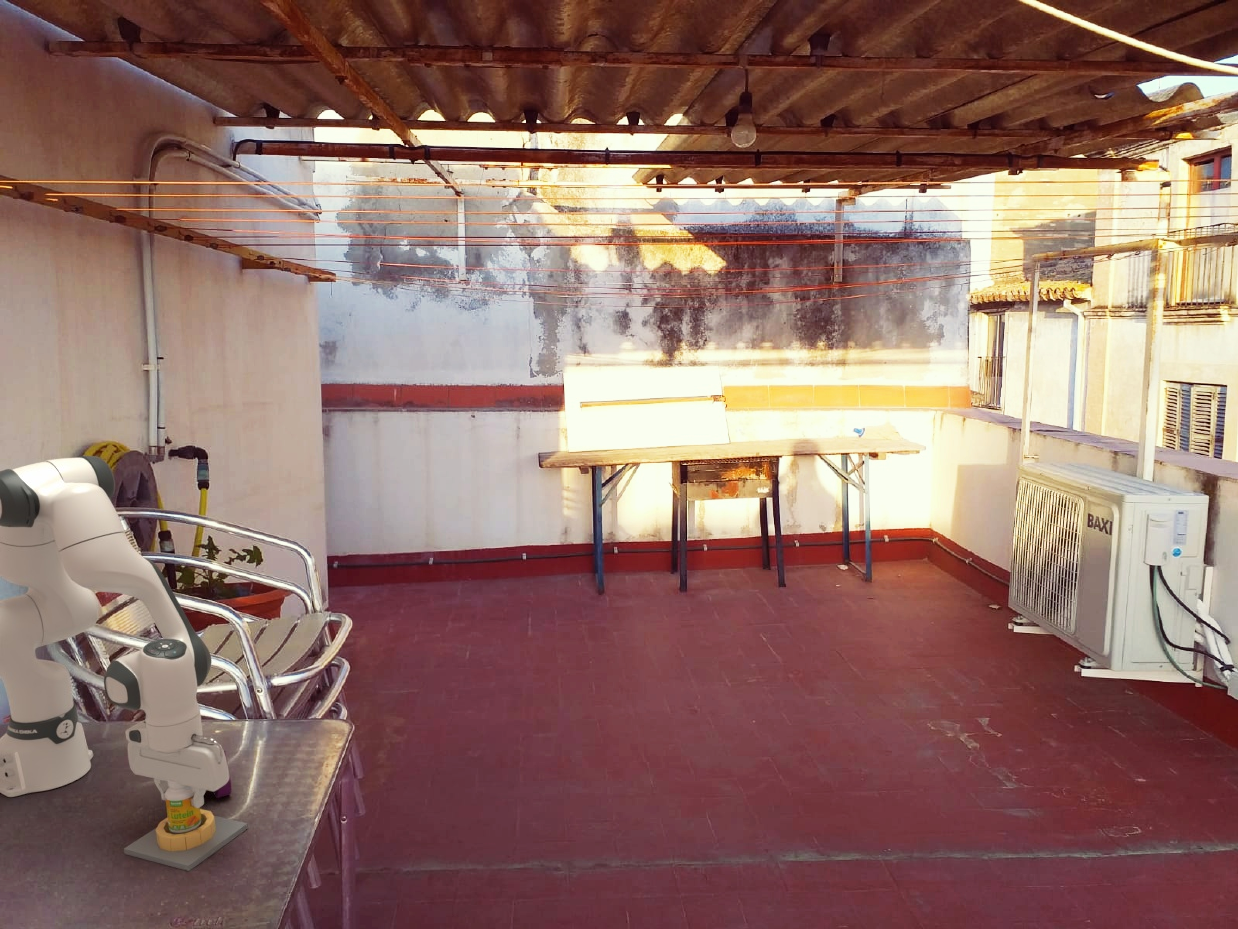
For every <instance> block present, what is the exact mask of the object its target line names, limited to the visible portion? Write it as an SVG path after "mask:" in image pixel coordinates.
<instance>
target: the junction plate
mask: <svg viewBox="0 0 1238 929" xmlns="http://www.w3.org/2000/svg"><path fill="white" fill-rule="evenodd" d="M200 812H201V823H200V825H199V826H198V827H197V828H195V829H193V830H191V831H189V832H185V833H173V832H171V831H170V829H169V825H168V816H167V817H166V818H164V819H163V820H161V821H160V822H158V824H157V827H155V828H154V829H152V830H151V831H149V832H147V833H146V834H144V835H143V836H141V837H140V838H139V839H137V840H135V841H134V842H132V843H130V844H129V845H127V846H126V847H124V848H123V852H124V853H123V854H124V855H127V856H130V857H134V858H139V859H142V860H145V861H150V862H153V863H158V864H161V865H164V866H169V867H171V868H176V869H180V870H183V871H186V872H190V871H191V870H192V869H194V868H196V866H198V865H199V864H201V863H202V862H204V861H206V860H207V859H208V858H209V857H211V856H212V855H213V854H215V853H216V852H218V851H219V850H220V849H222V848H223V847H224V846H226V845H228V843H230V842H231V841H232V840H234V839H235V838H236V837H238V836H240V835H241V834H243V833H244V832H245V831H246V829H247V828H249V826H248V823H247V822H243V821H238V820H235V819H230V818H225V817H222V816H218V815H214V814H213V812H212V811H211V810H206V809H203V808H200ZM247 830H248V829H247Z"/></svg>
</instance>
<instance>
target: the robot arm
mask: <svg viewBox="0 0 1238 929" xmlns="http://www.w3.org/2000/svg"><path fill="white" fill-rule="evenodd" d="M115 491H116V479H115V475H114V473H113V470H112V468H111V466H110V465H109V464H108V463H107V462H106V461H105V460H104V459H103V458H102V457H99V456H96V455H77V456H75V457H63V458H53V459H47V460H42V461H40V462H36V463H35V462H34V463H30V464H27V465H22V466H19V467H16V468H13V469H10V468H7V469H4V470H0V577H1V578H2V579H3V580H4V581H7V582H8V583H11V584H13V585H17V586H21V587H24V588H25V587H26V588H28V590H27V592H26V593H24V594H21V595H16V596H12V597H8V598H4V599H1V600H0V679H1V681H2V683H3V685H4V688H5V693H6V696H7V701H8V705H9V710H10V711H9V712H10V714H9V715H7V716H5V717H3V718H2V719H3V720H4V721H3V723H4V724H6V723H7V728H6V732H5V733H4V734H3V736H1V737H0V793H1V794H2V795H4V796H6V797H8V798H14V797H18V796H22V795H25V794H26V795H27V794H30V793H38V792H44V791H49V790H53V789H56V788H59V787H63V786H65V785H68V784H70V783H73V782H75V781H76V780H79V779H80V778H82V777H83V776H85V775H86V774H88V772H89V771H90V770H91V767H92V763H91V760H92V758H93V757H94V753H93V750H92V749H89V747H88V745H87V741H86V740H87V739H86V736H85V732H84V727H83V725H82V722H79V715H78V714H79V711H78V708H77V704H76V703H75V702H74V697H73V690H72V681H71V674H70V672H69V671H68V669H67V668H66V667H65V666H64V665H63V664H62V663H60V662H57V661H54V660H48V659H41V658H37V654H36V649H37V648H39V647H43V646H46V645H50V644H53V643H58V642H60V641H63V640H67V639H70V638H73V637H75V636H77V635H79V634H80V635H81V633H84V632H85V631H87V630H90V629H92V628H93V627H94V626H95V625H96V623H97V621H98V619H99V616H100V612H101V611H100V610H101V609H100V601H99V600H98V597H97V595H96V594H95V593H94V591H95V592H101V593H117V594H124V595H128V596H131V597H134V598H136V599H138V600H139V601H140V602H141V603H143V605H144V606H145V607H146V610H147V611H148V613H149V615H150V617H151V619H152V620H153V623H154V624H155V626H156V627H157V629H158V631H159V633H160V635H161V637H162V638H161V639H156V640H152V641H150V642H148V643H147V644H145V645H143V647H142V648H141V649H140V650H137V651H133V652H131V653H128V654H125V655H123V656H120V657H118V658H117V659H115V660H112V661H111V662H110V663H109V665H108V666H107V668H106V669H105V673H104V676H103V677H104V678H103V686H104V692H105V695H106V698H107V700H108V701H109V702H110V703H111V704H113V705H114V706H116V707H118V708H120V709H123V710H127V711H139V710H142V711H144V713H145V719H143V720H141V721H140V722H138V723H136V724H134V725H132V726H131V727H129V728H126V730H125V731H124V732H125V737H126V738H125V739H126V740H127V741H128V742H127V759H128V763H129V768H130V770H131V772H133V774H134V775H137V776H142V777H147V778H152V779H153V782H154V784H155V786H156V787H157V789H158V791H159V792H160V796H161V800H162V801H165V802H166V799H165V792H166V790H167V789H168V788H169V786H168V780H171V781H175V782H177V783H178V784H182V785H186V786H191V787H192V788H193V791H194V792H195V795H194V797H191V798H190V803H191V804H190V806H191V807H195V808H199V807H200V808H201V807H202V806H203V805H204V804H205V798H204V795H205V793H206V792H207V791H209V792H213V791H216V790H218V789H219V788H221V787H222V786H224V785H225V784H226V783H227V782H228V780H229V773H230V769H229V770H228V768H229V765H227V763H228V760H227V761H226V758H227V756H226V757H225V753H226V752H225V753H224V751H225V750H224V749H223V747H222V745H221V744H220V743H219V742H218V741H216V738H214V737H210V736H209V737H207V736H204V735H203V726H202V715H201V708H200V705H199V703H198V700H197V692H198V688H199V687H200V686H201V685H203V683H204V682H205V681H206V678H207V677H208V676H209V673H210V671H211V667H212V666H211V665H212V656H211V652H210V650H209V648H208V647H207V645H206V644H205V642H204V641H203V640H202V638H201V637H200V635H199V634H197V632H196V630H195V629H194V628H193V626H192V624H191V622H190V620H189V619H188V617H187V615H186V613H185V611H184V609H183V607H182V605H181V604H180V603H179V601H178V599H177V598H176V596H175V594H174V591H173V590H172V588H171V586H170V583H168V581H167V579H166V578H165V576H164V574H163V573H162V571H161V570H160V568H159V567H158V566H157V564H156V562H154V561H153V560H151V559H149V558H146V557H143V556H142V555H141V554H140V553H139V552H138V551H137V550H136V549H135V547H133V546H132V544H131V542H130V540H129V539H128V536H127V535H126V531H125V529H124V526H123V524H122V521H121V519H120V516H119V514H118V512H117V510H116V509H115V506H114V505H113V503H112V498H113V496H114V494H115Z"/></svg>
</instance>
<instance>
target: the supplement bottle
mask: <svg viewBox="0 0 1238 929" xmlns="http://www.w3.org/2000/svg"><path fill="white" fill-rule="evenodd" d="M168 786H169V788H168V789H167V790H166V792H165V799H166V801H165V807H166V813H167V814H166V816H167V817H168V825H169V829H170V831H171V832H173V833H185V832H189V831H191V830H193V829H195V828H197V827H198V826H199V825H200V823H201V812H200V809H201V807H199V808H195V807H191V806H190V804H191V803H190V798H191V797H194V795H195V792H194V791H193V788H192V787H191V786H186V785H182V784H178V783H177V782H175V781H171V780H168Z"/></svg>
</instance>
